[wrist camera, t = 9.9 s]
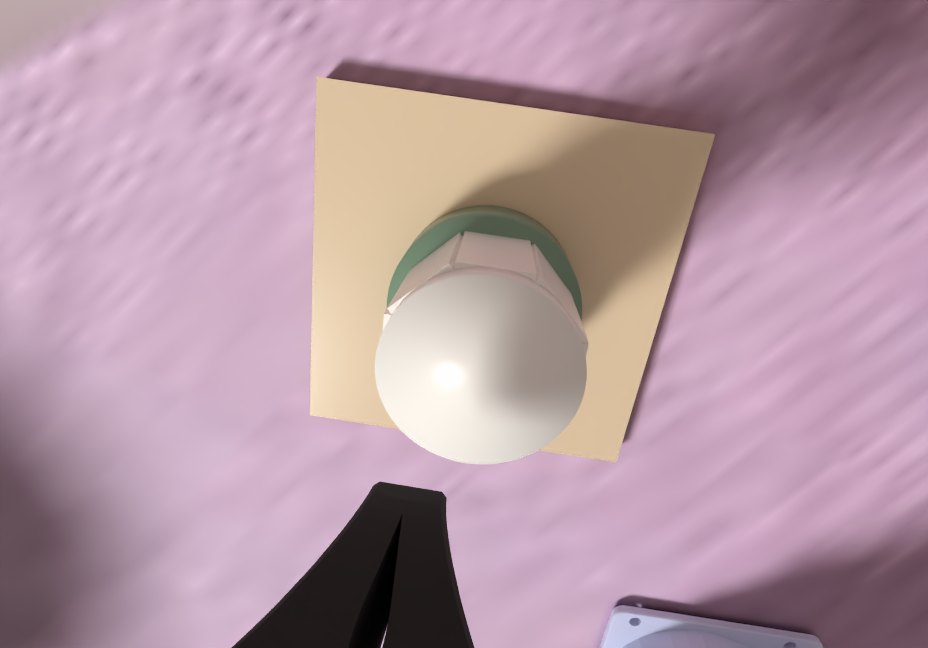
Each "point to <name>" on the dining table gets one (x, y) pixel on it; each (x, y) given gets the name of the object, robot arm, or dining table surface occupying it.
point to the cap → (482, 351)
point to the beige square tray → (494, 229)
